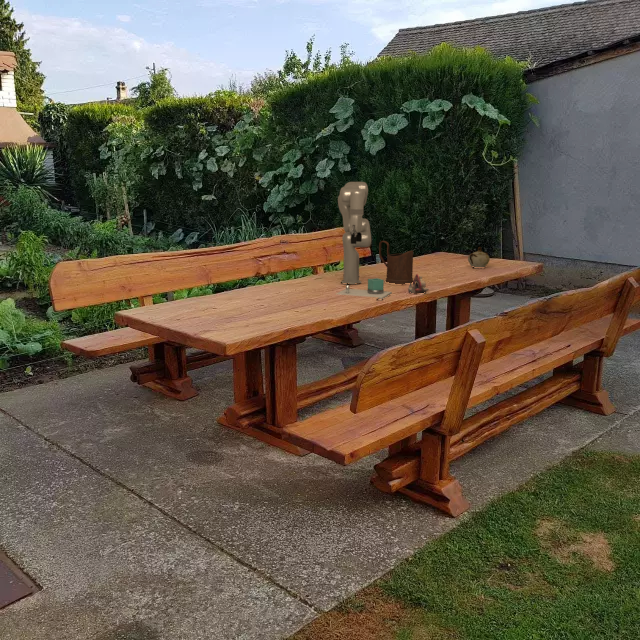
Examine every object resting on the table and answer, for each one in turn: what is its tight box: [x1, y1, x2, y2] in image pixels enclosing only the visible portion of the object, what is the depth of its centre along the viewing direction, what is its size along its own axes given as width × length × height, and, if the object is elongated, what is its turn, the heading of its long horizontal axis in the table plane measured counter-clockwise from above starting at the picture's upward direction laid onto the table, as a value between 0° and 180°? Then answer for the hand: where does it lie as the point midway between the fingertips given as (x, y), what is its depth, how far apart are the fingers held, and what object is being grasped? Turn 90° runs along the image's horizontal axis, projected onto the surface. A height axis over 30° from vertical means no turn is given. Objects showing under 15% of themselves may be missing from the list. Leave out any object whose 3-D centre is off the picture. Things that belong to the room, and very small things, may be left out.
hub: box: [366, 288, 385, 294], centre depth 375 cm, size 9×9×6 cm
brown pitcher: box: [378, 240, 414, 284], centre depth 417 cm, size 18×24×25 cm
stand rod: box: [345, 284, 350, 294], centre depth 374 cm, size 2×2×4 cm
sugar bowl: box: [467, 246, 491, 268], centre depth 478 cm, size 20×15×15 cm
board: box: [335, 288, 393, 300], centre depth 375 cm, size 19×27×2 cm
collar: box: [367, 277, 385, 291], centre depth 375 cm, size 6×6×6 cm
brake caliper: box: [407, 273, 430, 294], centre depth 383 cm, size 11×11×12 cm
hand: (356, 242), depth 385 cm, fingers open, 9 cm apart
